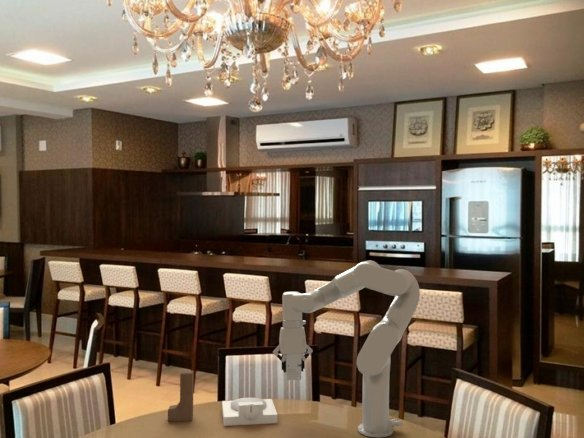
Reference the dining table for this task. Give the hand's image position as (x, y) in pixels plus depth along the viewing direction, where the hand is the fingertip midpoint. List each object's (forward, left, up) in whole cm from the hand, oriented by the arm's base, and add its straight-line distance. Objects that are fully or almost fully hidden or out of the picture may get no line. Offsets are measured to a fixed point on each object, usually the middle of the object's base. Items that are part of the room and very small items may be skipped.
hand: (293, 370), depth 208 cm
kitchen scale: (+16, -5, -18) cm, 25 cm away
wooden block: (+42, -5, -19) cm, 47 cm away
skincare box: (0, 0, -3) cm, 3 cm away
